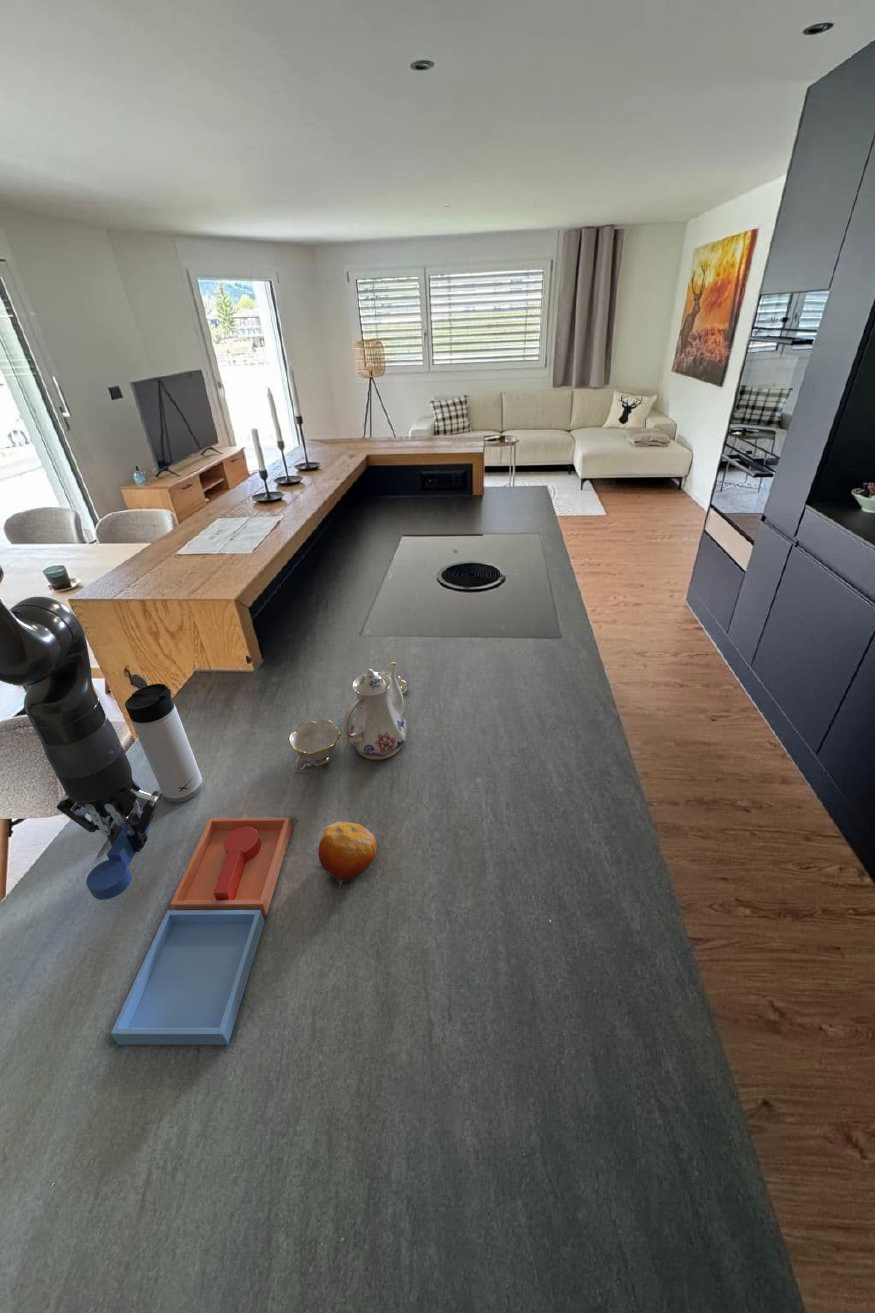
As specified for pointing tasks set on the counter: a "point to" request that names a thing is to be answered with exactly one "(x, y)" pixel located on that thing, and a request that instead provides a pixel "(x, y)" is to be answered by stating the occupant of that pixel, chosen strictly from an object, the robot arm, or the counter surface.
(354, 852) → the fruit
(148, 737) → the travel mug
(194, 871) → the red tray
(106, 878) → the blue spoon
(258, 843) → the red spoon
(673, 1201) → the counter surface
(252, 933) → the blue tray
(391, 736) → the chinaware
